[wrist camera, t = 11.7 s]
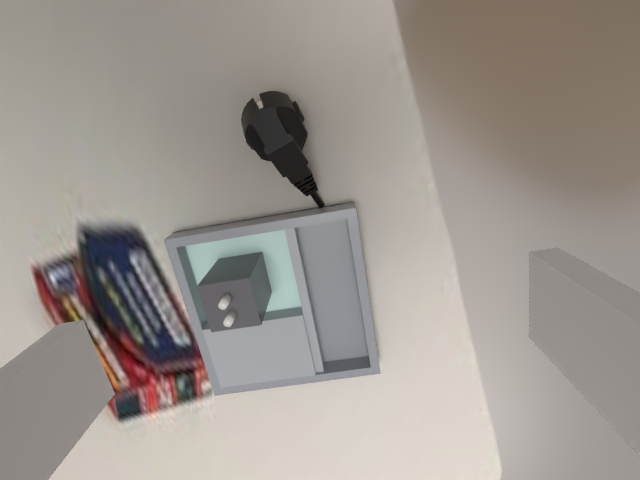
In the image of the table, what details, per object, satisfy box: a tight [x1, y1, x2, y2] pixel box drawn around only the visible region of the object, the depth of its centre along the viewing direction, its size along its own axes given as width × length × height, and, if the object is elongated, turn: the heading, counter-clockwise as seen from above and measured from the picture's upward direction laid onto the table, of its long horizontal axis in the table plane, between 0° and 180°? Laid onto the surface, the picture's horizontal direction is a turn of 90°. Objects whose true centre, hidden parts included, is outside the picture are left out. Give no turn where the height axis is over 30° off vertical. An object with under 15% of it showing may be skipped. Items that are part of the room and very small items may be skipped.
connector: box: [197, 252, 272, 332], centre depth 37 cm, size 5×5×9 cm
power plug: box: [241, 91, 324, 208], centre depth 36 cm, size 6×8×12 cm
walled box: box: [164, 202, 381, 396], centre depth 41 cm, size 20×20×3 cm
